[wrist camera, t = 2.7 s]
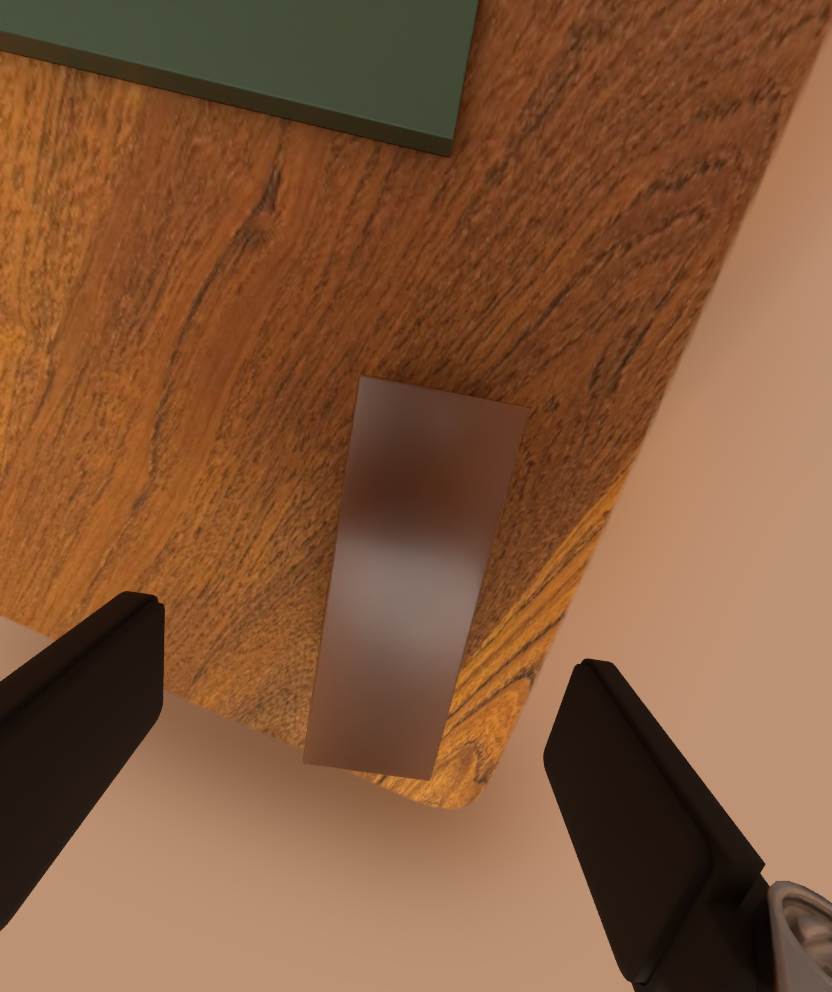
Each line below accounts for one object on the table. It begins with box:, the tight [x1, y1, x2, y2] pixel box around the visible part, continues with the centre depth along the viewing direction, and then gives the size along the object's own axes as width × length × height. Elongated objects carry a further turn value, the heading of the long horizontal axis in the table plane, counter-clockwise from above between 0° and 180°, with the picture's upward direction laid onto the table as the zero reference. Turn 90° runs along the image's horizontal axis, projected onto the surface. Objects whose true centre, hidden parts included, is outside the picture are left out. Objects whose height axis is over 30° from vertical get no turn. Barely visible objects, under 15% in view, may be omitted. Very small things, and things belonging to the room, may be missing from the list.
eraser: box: [303, 374, 529, 781], centre depth 14 cm, size 4×13×6 cm, turn 169°
